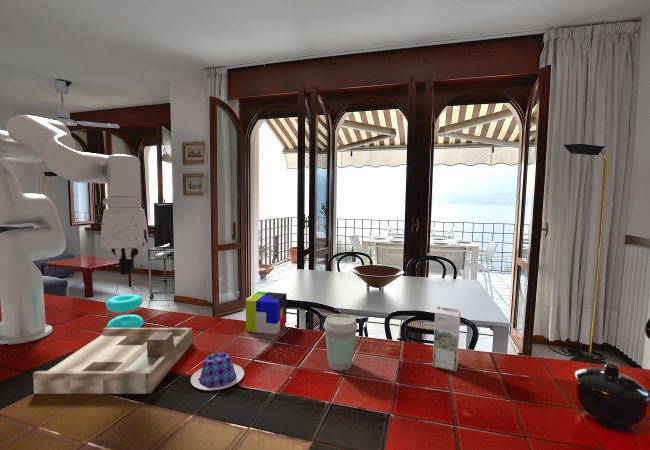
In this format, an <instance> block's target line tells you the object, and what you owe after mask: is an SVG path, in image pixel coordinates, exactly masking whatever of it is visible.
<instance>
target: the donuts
mask: <svg viewBox="0 0 650 450" xmlns="http://www.w3.org/2000/svg"><path fill="white" fill-rule="evenodd" d="M143 301H144V300H143V298H142V295H139V294H131V293H130V294H129V293H128V294H119V295H116V296H113V297H111V298H109V299H108V300H106V302H105V307H106V309H107V310H109V311H111V312H115V313H124V312H130V311H132V310H136V309H137V308H140V306H141V305H142V304H143ZM143 324H144V319H143V317H142V316H140V315H137V314H124V315H123V314H122V315H118V316H116V317H114V318H112V319H111V320H109V321H108V323H107V324H106V328H142V326H143Z"/></svg>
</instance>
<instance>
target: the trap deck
mask: <svg viewBox="0 0 650 450" xmlns="http://www.w3.org/2000/svg"><path fill="white" fill-rule="evenodd" d="M155 332H173V341H174V344H173V345H172V346H171V347H170V348H169V349H168V350H167V351H166V352H165V353H164V354H163V355H162V356H161V357H160V358H147V339H148V338H149V337H150V336H152V335H153V334H154V333H155ZM192 344H193V328H192V327H140V328H107V327H103V328H102V334H101V335H99V336H98V337H97V338H95V339H93V340H92V341H90V342H89V343H87V344H86V345H84V346H83V347H81V348H80V349H78V350H77V351H75V352H74V353H72V354H70V355H69V356H67V357H66V358H65V359H63V360H62V361H60V362H59V363H57V364H56V365H54V366H53V367H51V368H50V369H48V370H36V371H34V372H32V379H33V394H34V395H35V394H38V395H39V394H40V395H43V394H44V395H45V394H46V395H48V394H49V395H56V394H58V395H60V394H63V395H66V394H72V395H73V394H76V395H77V394H82V395H84V394H90V395H91V394H99V395H100V394H101V395H102V394H104V395H105V394H109V395H111V394H113V395H114V394H120V395H121V394H127V395H129V394H134V395H137V394H139V395H140V394H142V395H144V394H146V395H147V394H152V393H153V392H154V390H155V389H156V388H157V387H158V386H159V384H160V383H161V382H162V381H163V379H164V378H165V377H166V375H168V374H169V372H170V371H171V370H172V369H173V367H174V366H175V364H177V362H178V361H179V360H180V359H181V357H183V355H184V354H185V352H187V350H188V349H189V348H190V347H191V345H192Z"/></svg>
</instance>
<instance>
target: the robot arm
mask: <svg viewBox="0 0 650 450" xmlns="http://www.w3.org/2000/svg"><path fill="white" fill-rule="evenodd" d="M5 129H6V130H1V129H0V227H19V226H32V228H18V229H13V230H12V229H10V230H7V231H6V230H5V231H2V232H1V233H0V309H1V321H0V345H4V344H8V346H9V345H19V344H25V343H29V342H33V341H36V340H40V339H42V338H44V337H46V336H49V335H50V334H51V333H52V332H53V326H52V325H50V324H46V310H45V298H44V297H45V295H44V293H45V292H44V291H45V290H44V282H43V281H44V280H43V273H42V272H41V270H40V269H39V268H38V267H37V265H36V264H35V263H34V262H33V261H37V260H44V259H48V258H49V259H50V258H54V257H58V256H60V255H62V253H64V252H65V250H66V248H67V238H66V234H65V232H64V229H63V228H64V227H63V226H62V223H61V219H60V216H59V213H58V209H57V208H56V205H55V203H54V202H53V201H52V200H51V198H50V197H48V196H47V195H44V194H42V193H41V194H40V193H24V192H23V191H22V189H21V187H20V185H19V181H18V179H17V177H16V176H15V174H14V173H13V172H12V171H11V170H10V169H9V168H8V167H6V166H5V165H4V164H3V163H1V162H13V163H24V164H25V163H26V164H34V163H35V164H36V163H39V162H42V161H43V163H44V165H45V167H46V168H47V169H48V170H49V171H51V173H54V174H56V176H60V177H61V178H63V179H65V180H67V181H70V182H73V183H79V184H80V183H81V184H86V183H87V184H104V185H106V193H107V194H106V195H107V196H106V198H103V200H102V203H103V204H104V205H105V204H106V207H107V208H104V209H103V214H102V218H101V226H100V229H101V230H100V243H101V246H102V247H103V250H104V251H106V252H110V253H113V255H115V256H116V259H117V260H118V269H119V272H120V275H130V274H131V273H133V271H134V269H135V259H134V258H136V256H137V255H138V254H139V253H144V252H147V251H148V250H149V248H148V243H149V229H148V221H147V217H146V213H145V210H144V208H142V191H141V189H142V187H141V161H140V159H139V157H137V156H135V155H129V154H110V155H108V154H107V155H105V154H100V153H92V152H83V151H82V152H81V151H77V150H76V142H75V140H74V138H73V137H72V133H71V131H70V129H69V128H68V127H67V126H66V125H65V124H64V123H62V122H60V121H58V120H54V119H49V118H44V117H39V116H34V115H29V114H19V115H16V116H13V117H11V118H10V119H9V120H8V121H7V122H6V126H5Z"/></svg>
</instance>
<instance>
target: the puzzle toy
mask: <svg viewBox="0 0 650 450" xmlns="http://www.w3.org/2000/svg"><path fill="white" fill-rule="evenodd" d="M287 297H288V296H287V293H286V292H285V293H283V292H271V291H270V292H269V291H257V292H256V293H254V294H252V295H251V296H250V297H248V298H246V300H245V332H249V333H261V334H270V335H277V334H278V333H279V332H280V331H281V330H282V329H283V327H284V326H285V325H286V324H287V312H288V311H287V305H288V304H287V301H288V300H287V299H288V298H287Z"/></svg>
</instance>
